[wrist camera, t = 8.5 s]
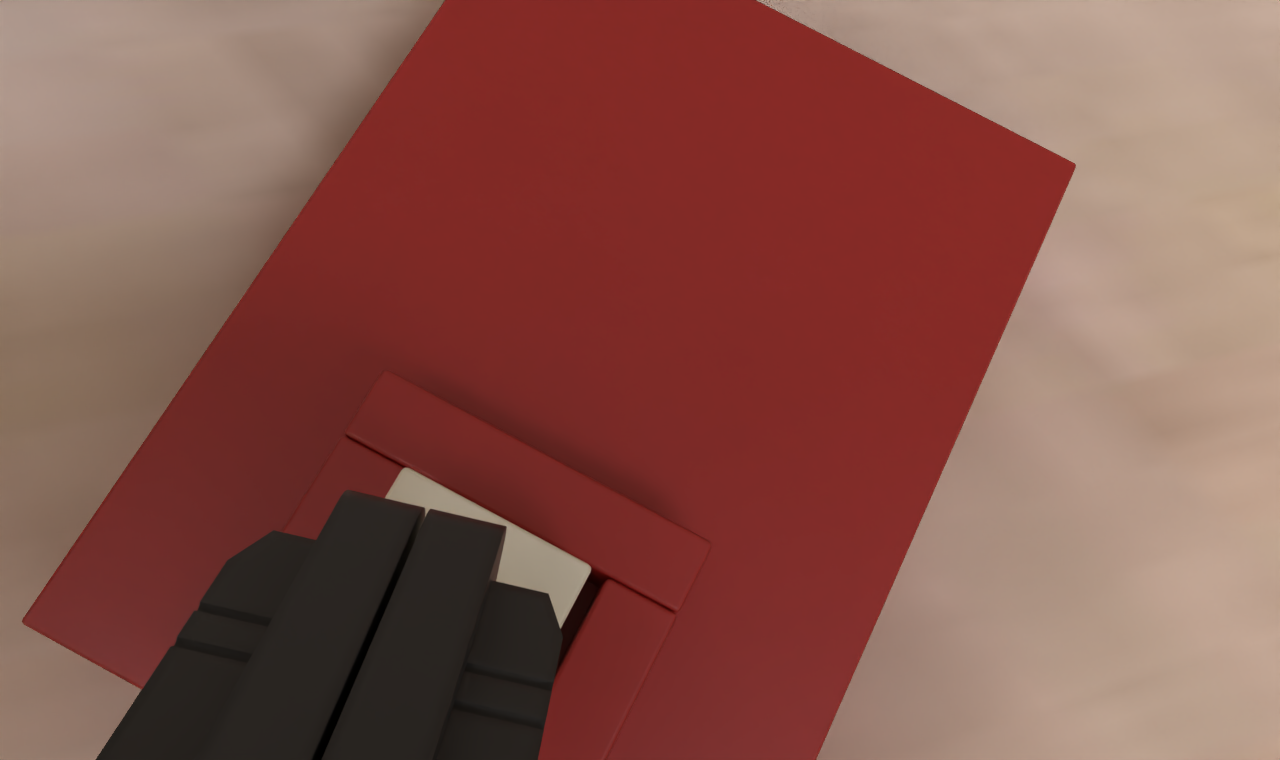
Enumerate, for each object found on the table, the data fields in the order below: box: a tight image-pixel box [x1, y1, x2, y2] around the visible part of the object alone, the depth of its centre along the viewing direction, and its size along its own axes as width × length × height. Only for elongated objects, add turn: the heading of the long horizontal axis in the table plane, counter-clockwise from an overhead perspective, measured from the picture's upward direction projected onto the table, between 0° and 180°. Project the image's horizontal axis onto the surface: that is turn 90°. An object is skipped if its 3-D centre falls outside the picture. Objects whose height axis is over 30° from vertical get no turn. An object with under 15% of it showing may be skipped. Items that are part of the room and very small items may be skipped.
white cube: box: [385, 467, 591, 629], centre depth 15 cm, size 3×3×3 cm
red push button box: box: [22, 0, 1076, 760], centre depth 20 cm, size 12×16×5 cm
